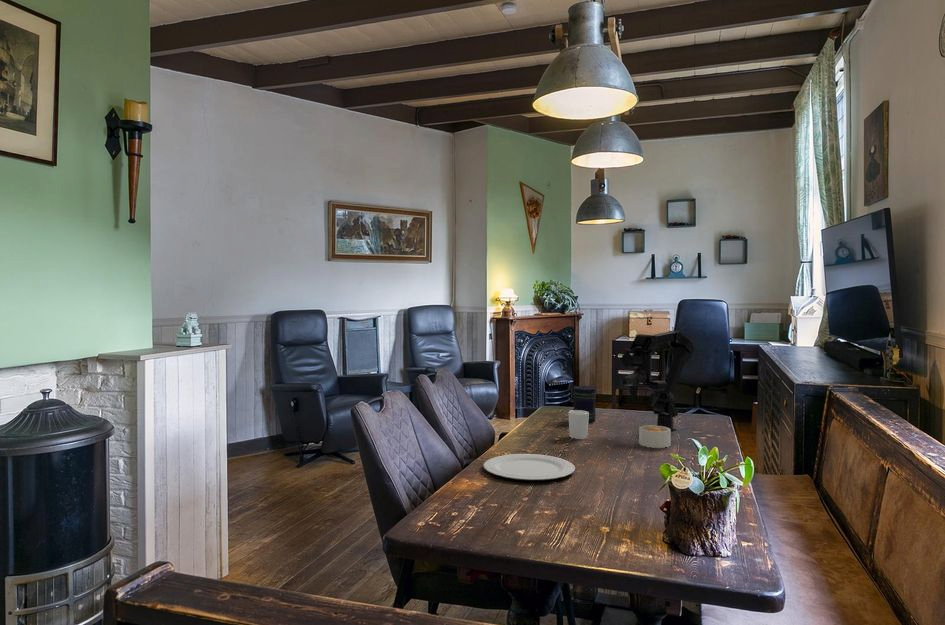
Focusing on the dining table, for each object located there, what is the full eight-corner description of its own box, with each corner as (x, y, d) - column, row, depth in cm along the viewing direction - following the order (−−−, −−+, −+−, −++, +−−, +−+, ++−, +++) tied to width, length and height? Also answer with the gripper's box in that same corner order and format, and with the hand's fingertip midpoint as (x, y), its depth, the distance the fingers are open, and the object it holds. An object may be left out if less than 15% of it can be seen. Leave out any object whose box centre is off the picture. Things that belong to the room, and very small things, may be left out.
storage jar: (597, 423, 271) (597, 389, 270) (574, 423, 271) (575, 389, 270) (593, 419, 281) (593, 385, 280) (571, 418, 281) (571, 385, 280)
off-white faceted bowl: (652, 439, 242) (652, 424, 242) (676, 445, 233) (676, 429, 233) (633, 443, 236) (633, 427, 236) (656, 449, 227) (657, 433, 226)
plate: (582, 463, 208) (582, 458, 208) (565, 489, 181) (566, 483, 181) (498, 455, 218) (498, 450, 218) (470, 479, 190) (470, 473, 190)
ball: (653, 440, 238) (653, 424, 238) (666, 443, 234) (666, 427, 233) (642, 442, 235) (642, 426, 235) (655, 445, 230) (655, 429, 230)
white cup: (587, 435, 249) (588, 410, 248) (589, 440, 241) (589, 414, 240) (567, 434, 249) (568, 409, 249) (568, 439, 241) (569, 413, 241)
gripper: (612, 364, 254) (611, 402, 254) (649, 369, 238) (648, 410, 239) (631, 362, 260) (630, 400, 261) (668, 367, 245) (667, 407, 245)
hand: (643, 404), depth 251 cm, fingers open, 9 cm apart
